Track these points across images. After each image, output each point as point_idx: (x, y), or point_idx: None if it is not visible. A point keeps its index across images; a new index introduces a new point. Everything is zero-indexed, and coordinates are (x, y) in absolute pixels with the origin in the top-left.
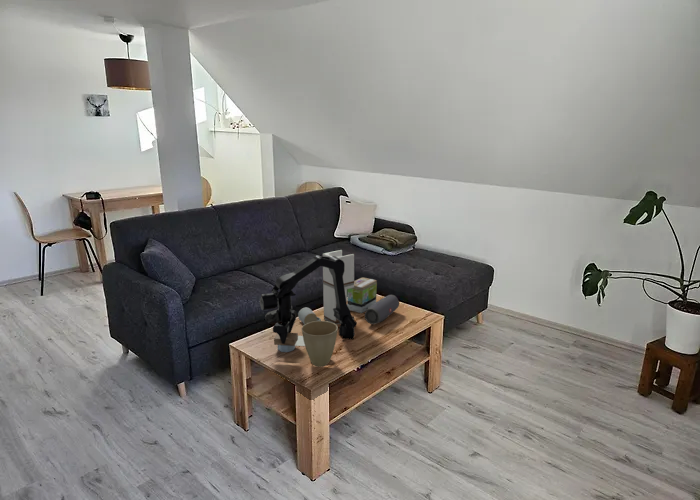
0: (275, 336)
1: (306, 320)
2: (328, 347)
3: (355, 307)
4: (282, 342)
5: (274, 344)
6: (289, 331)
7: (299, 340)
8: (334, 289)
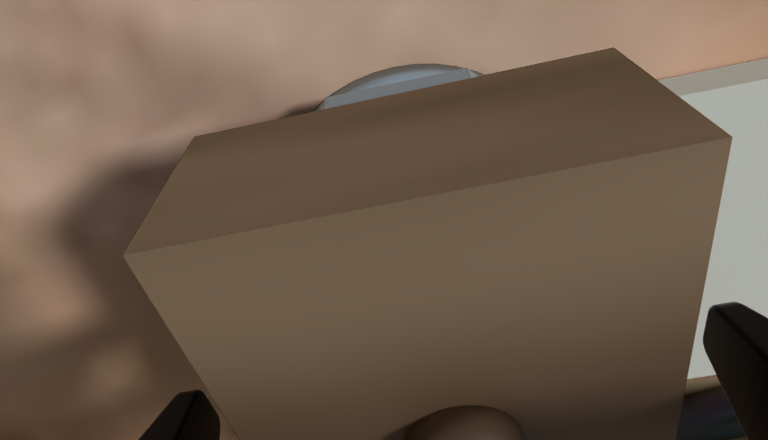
0: (292, 232)
1: None
2: None
3: None
4: (163, 433)
5: (192, 146)
6: (756, 415)
7: (733, 282)
8: None
